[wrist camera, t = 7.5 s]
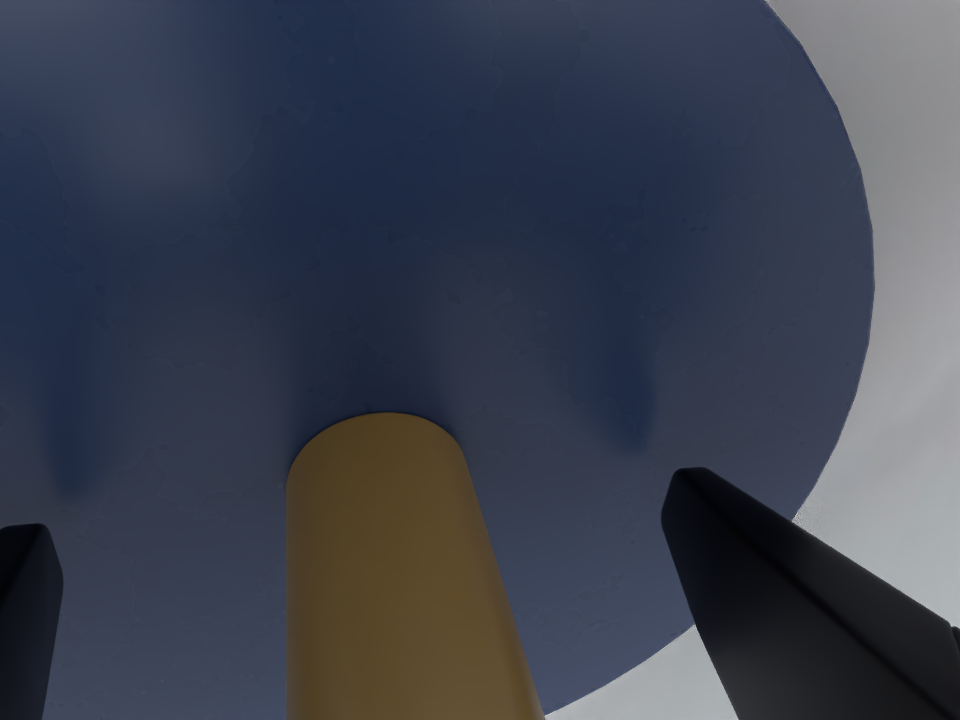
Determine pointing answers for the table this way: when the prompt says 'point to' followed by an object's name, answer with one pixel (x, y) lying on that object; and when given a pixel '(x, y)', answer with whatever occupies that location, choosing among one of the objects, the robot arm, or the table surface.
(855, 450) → the table surface
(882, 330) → the table surface
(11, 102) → the pan lid
